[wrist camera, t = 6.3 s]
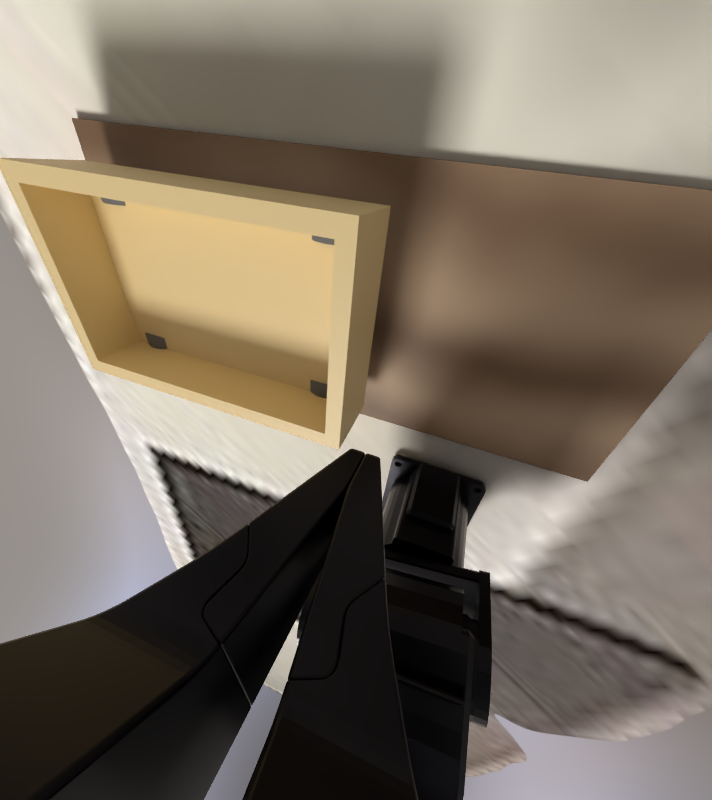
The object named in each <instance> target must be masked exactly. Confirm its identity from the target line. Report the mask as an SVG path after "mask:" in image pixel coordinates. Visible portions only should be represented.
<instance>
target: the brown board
mask: <svg viewBox="0 0 712 800" xmlns="http://www.w3.org/2000/svg"><path fill="white" fill-rule="evenodd" d="M72 120H73V123H74V126H75V129H76V132H77V135H78V138H79V141H80V144H81V148H82V151H83V154H84V157H85V160H87V161H93V162H100V163H107V164H113V165H120V166H127V167H133V168H140V169H147V170H154V171H160V172H167V173H174V174H180V175H187V176H194V177H201V178H207V179H214V180H221V181H227V182H234V183H241V184H247V185H254V186H261V187H268V188H274V189H281V190H288V191H294V192H301V193H308V194H315V195H321V196H328V197H335V198H341V199H348V200H355V201H362V202H368V203H375V204H382V205H388V206H391V208H390V216H389V223H388V230H387V238H386V245H385V252H384V259H383V267H382V274H381V281H380V289H379V296H378V303H377V311H376V318H375V325H374V333H373V340H372V347H371V354H370V362H369V369H368V376H367V384H366V391H365V398H364V406H363V408H362V410H361V412H360V414H364V415H367V416H370V417H374V418H377V419H380V420H384V421H387V422H390V423H394V424H397V425H400V426H404V427H407V428H410V429H414V430H417V431H420V432H424V433H427V434H430V435H434V436H437V437H440V438H444V439H447V440H450V441H454V442H457V443H460V444H464V445H467V446H470V447H474V448H477V449H480V450H484V451H487V452H490V453H494V454H497V455H500V456H504V457H507V458H510V459H514V460H517V461H520V462H524V463H527V464H530V465H534V466H537V467H540V468H544V469H547V470H550V471H554V472H557V473H560V474H564V475H567V476H571V477H574V478H577V479H581V480H584V481H588V480H589V479H590V478H591V476H592V475H593V474H594V473H595V472H596V470H597V469H598V468H599V467H600V465H601V464H602V463H603V462H604V461H605V459H606V458H607V457H608V456H609V454H610V453H611V452H612V451H613V450H614V448H615V447H616V446H617V445H618V443H619V442H620V441H621V440H622V439H623V437H624V436H625V435H626V434H627V432H628V431H629V430H630V429H631V428H632V426H633V425H634V424H635V423H636V421H637V420H638V419H639V418H640V417H641V415H642V414H643V413H644V412H645V410H646V409H647V408H648V407H649V406H650V404H651V403H652V402H653V401H654V399H655V398H656V397H657V396H658V395H659V393H660V392H661V391H662V390H663V388H664V387H665V386H666V385H667V384H668V382H669V381H670V380H671V379H672V377H673V376H674V375H675V374H676V373H677V371H678V370H679V369H680V368H681V366H682V365H683V364H684V363H685V362H686V360H687V359H688V358H689V357H690V355H691V354H692V353H693V352H694V351H695V349H696V348H697V347H698V346H699V344H700V343H701V342H702V341H703V340H704V338H705V337H706V336H707V335H708V333H709V332H710V331H711V330H712V190H704V189H695V188H686V187H677V186H668V185H660V184H651V183H642V182H633V181H624V180H615V179H607V178H598V177H589V176H580V175H571V174H562V173H554V172H545V171H536V170H527V169H518V168H509V167H501V166H492V165H483V164H474V163H465V162H456V161H447V160H439V159H430V158H421V157H412V156H403V155H394V154H386V153H377V152H368V151H359V150H350V149H341V148H333V147H324V146H315V145H306V144H297V143H288V142H280V141H271V140H262V139H253V138H244V137H235V136H227V135H218V134H209V133H200V132H191V131H182V130H173V129H165V128H156V127H147V126H138V125H129V124H120V123H112V122H103V121H94V120H85V119H76V118H72Z"/></svg>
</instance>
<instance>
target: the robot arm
mask: <svg viewBox="0 0 712 800" xmlns="http://www.w3.org/2000/svg"><path fill="white" fill-rule="evenodd" d="M398 462H400V463H398ZM478 488H479V489H478ZM485 491H486V486H485V484H484V483H483V482H481V481H478V480H475V479H472V478H469V477H466V476H463V475H459V474H456V473H453V472H450V471H447V470H444V469H441V468H438V467H434V466H431V465H428V464H425V463H422V462H419V461H416V460H413V459H410V458H406V457H403V456H400V455H397V456H394V457H393V460H392V463H391V467H390V471H389V475H388V479H387V484H386V488H385V492H384V496H383V501H382V489H381V467H380V458H379V457H377V456H373V455H370V454H366V455H365V453H364V452H361V451H358V450H355V449H350V450H348V451H347V452H346V453H344V454H343V455H341V456H340V457H339V458H337V459H336V460H335V461H333V462H332V463H330V464H329V465H328V466H326V467H325V468H324V469H322V470H321V471H319V472H318V473H317V474H315V475H314V476H313V477H311V478H310V479H308V480H307V481H306V482H304V483H303V484H302V485H300V486H299V487H297V488H296V489H295V490H293V491H292V492H291V493H289V494H288V495H287V496H285V497H284V498H282V499H281V500H280V501H278V502H277V503H276V504H274V505H273V506H271V507H270V508H269V509H267V510H266V511H265V512H263V513H262V514H260V515H259V516H258V517H256V518H255V519H254V520H252V521H251V522H250V523H249V525H248V524H247V525H245V526H244V527H242V528H241V529H240V530H238V531H237V532H236V533H234V534H233V535H231V536H230V537H228V538H227V539H226V540H224V541H223V542H221V543H220V544H218V545H217V546H215V547H214V548H212V549H211V550H209V551H208V552H206V553H204V554H203V555H201V556H200V557H198V558H196V559H195V560H193V561H191V562H190V563H188V564H187V565H185V566H183V567H181V568H180V569H178V570H176V571H175V572H173V573H171V574H170V575H168V576H167V577H165V578H163V579H162V580H160V581H158V582H156V583H154V584H153V585H151V586H149V587H148V588H146V589H144V590H143V591H141V592H139V593H138V594H136V595H134V596H133V597H131V598H129V599H127V600H126V601H124V602H122V603H120V604H119V605H116V606H114V607H112V608H111V609H108V610H106V611H104V612H101V613H99V614H97V615H94V616H92V617H89V618H86V619H83V620H80V621H77V622H73V623H70V624H67V625H63V626H60V627H56V628H53V629H49V630H46V631H42V632H39V633H35V634H32V635H29V636H25V637H22V638H18V639H15V640H11V641H8V642H4V643H1V644H0V800H204V798H205V796H206V794H207V792H208V790H209V788H210V786H211V784H212V782H213V780H214V779H215V777H216V775H217V773H218V771H219V769H220V767H221V765H222V763H223V761H224V759H225V757H226V755H227V753H228V751H229V749H230V747H231V745H232V744H233V742H234V740H235V738H236V736H237V734H238V732H239V730H240V728H241V726H242V724H243V722H244V720H245V718H246V716H247V714H248V712H249V710H250V708H251V706H250V705H252V704H253V702H254V700H255V699H256V697H257V695H258V693H259V691H260V689H261V687H262V685H263V683H264V681H265V679H266V677H267V675H268V673H269V671H270V669H271V667H272V665H273V664H274V662H275V660H276V658H277V656H278V654H279V652H280V650H281V648H282V646H283V644H284V642H285V640H286V638H287V636H288V634H289V632H290V630H291V628H292V627H293V625H294V623H295V621H296V619H297V617H298V615H299V613H300V615H301V616H300V619H299V625H298V631H297V646H298V647H297V650H296V653H295V657H294V660H293V663H292V666H291V669H290V673H289V676H288V681H287V683H286V686H285V689H284V692H283V695H282V698H281V701H280V704H279V707H278V710H277V713H276V715H275V719H274V721H273V724H272V726H271V729H270V732H269V734H268V737H267V739H266V742H265V744H264V747H263V750H262V752H261V755H260V757H259V759H258V762H257V765H256V767H255V769H254V772H253V775H252V777H251V780H250V782H249V784H248V787H247V789H246V792H245V795H244V797H243V800H463V796H464V785H465V772H466V758H467V745H468V732H469V721H470V722H472V723H475V724H477V725H480V726H482V727H485V728H486V727H487V723H488V716H489V705H490V691H491V665H492V636H491V599H490V573H488V572H484V571H480V570H479V572H477V571H473V570H469V569H465V568H463V567H464V555H465V543H466V531H467V526H468V524H469V522H470V520H471V518H472V516H473V514H474V513H475V511H476V509H477V507H478V505H479V503H480V501H481V500H482V498H483V496H484V494H485Z"/></svg>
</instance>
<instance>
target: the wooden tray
mask: <svg viewBox="0 0 712 800" xmlns="http://www.w3.org/2000/svg"><path fill="white" fill-rule="evenodd" d="M0 170H1V172H2V174H3V176H4V178H5V181H6V183H7V185H8V187H9V189H10V191H11V193H12V196H13V198H14V200H15V202H16V204H17V206H18V208H19V211H20V213H21V215H22V217H23V219H24V221H25V223H26V226H27V228H28V230H29V232H30V234H31V236H32V238H33V241H34V243H35V245H36V247H37V249H38V251H39V253H40V256H41V258H42V260H43V262H44V264H45V266H46V269H47V271H48V273H49V275H50V277H51V279H52V281H53V284H54V286H55V288H56V290H57V292H58V294H59V296H60V299H61V301H62V303H63V305H64V307H65V309H66V311H67V314H68V316H69V318H70V320H71V322H72V324H73V326H74V329H75V331H76V333H77V335H78V337H79V339H80V341H81V344H82V346H83V348H84V350H85V352H86V354H87V357H88V359H89V361H90V363H91V365H92V367H93V369H96V370H99V371H102V372H105V373H108V374H111V375H114V376H117V377H120V378H123V379H126V380H129V381H132V382H135V383H138V384H141V385H144V386H147V387H150V388H153V389H156V390H159V391H162V392H165V393H168V394H171V395H174V396H177V397H180V398H183V399H186V400H189V401H192V402H195V403H198V404H201V405H205V406H208V407H211V408H214V409H217V410H220V411H223V412H226V413H229V414H232V415H235V416H238V417H241V418H244V419H247V420H250V421H253V422H256V423H259V424H262V425H265V426H268V427H271V428H274V429H277V430H280V431H283V432H286V433H289V434H292V435H295V436H298V437H301V438H304V439H307V440H310V441H313V442H316V443H319V444H322V445H326V446H329V447H332V448H335V449H338V450H339V449H340V447H341V445H342V443H343V442H344V440H345V438H346V436H347V434H348V433H349V431H350V429H351V427H352V426H353V424H354V422H355V420H356V419H357V417H358V415H359V413H360V412H361V410H362V408H363V406H364V398H365V391H366V384H367V376H368V369H369V362H370V354H371V347H372V340H373V333H374V325H375V318H376V311H377V303H378V296H379V289H380V281H381V274H382V267H383V259H384V252H385V245H386V238H387V230H388V223H389V216H390V208H391V206H388V205H382V204H375V203H368V202H362V201H355V200H348V199H341V198H335V197H328V196H321V195H315V194H308V193H301V192H294V191H288V190H281V189H274V188H268V187H261V186H254V185H247V184H241V183H234V182H227V181H221V180H214V179H207V178H201V177H194V176H187V175H180V174H174V173H167V172H160V171H154V170H147V169H140V168H133V167H127V166H120V165H113V164H107V163H100V162H93V161H87V160H54V159H21V158H0Z"/></svg>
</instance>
